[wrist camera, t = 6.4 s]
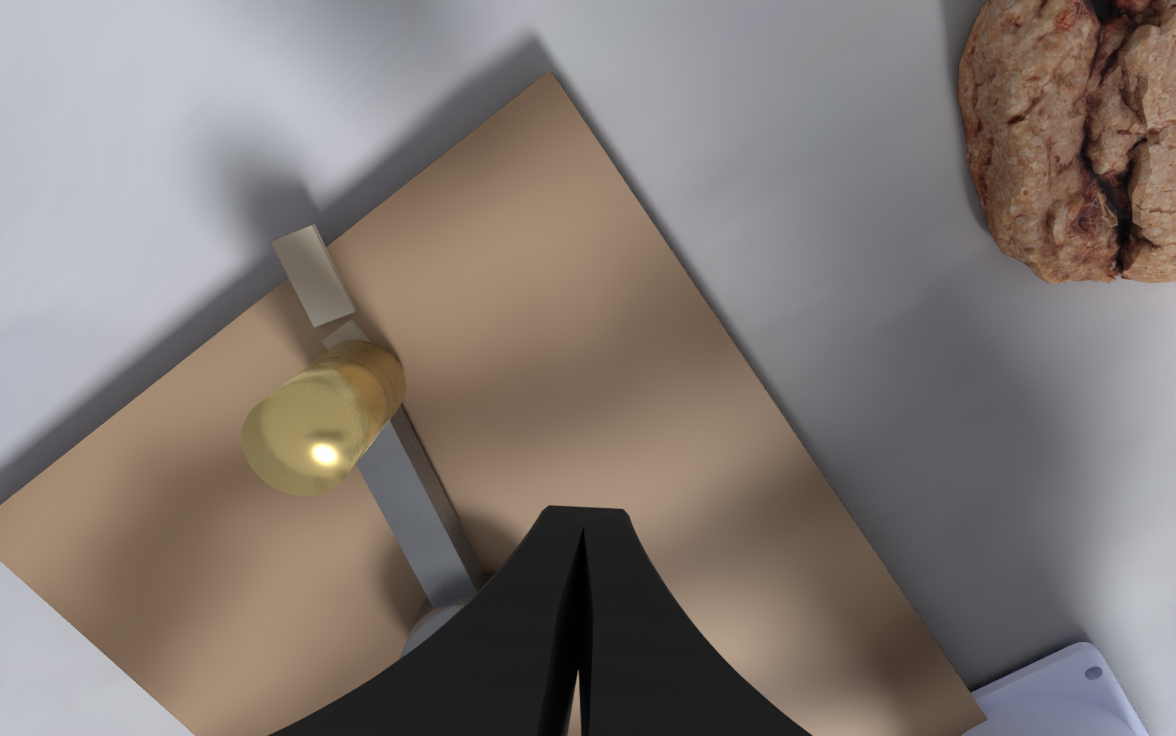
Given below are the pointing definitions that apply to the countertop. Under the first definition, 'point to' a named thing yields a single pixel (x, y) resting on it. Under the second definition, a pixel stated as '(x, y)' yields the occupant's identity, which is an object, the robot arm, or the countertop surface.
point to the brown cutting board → (474, 461)
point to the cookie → (1075, 134)
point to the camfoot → (367, 466)
